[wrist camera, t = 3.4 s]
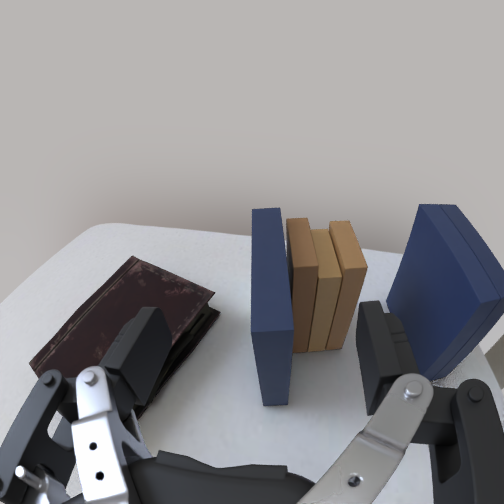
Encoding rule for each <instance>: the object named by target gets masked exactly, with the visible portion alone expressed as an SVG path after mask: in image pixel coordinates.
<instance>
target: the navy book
mask: <svg viewBox="0 0 504 504" xmlns="http://www.w3.org/2000/svg"><path fill="white" fill-rule="evenodd" d="M251 336H252V342H253V348H254V354H255V360H256V366H257V372H258V378H259V384H260V389H261V395H262V401H263V406H277V405H288V397H289V387H290V376H291V364H292V352H293V339H294V323H293V313H292V303H291V293H290V284H289V275H288V266H287V258H286V250H285V241H284V233H283V226H282V218H281V211H280V208H264V209H252V263H251Z"/></svg>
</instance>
